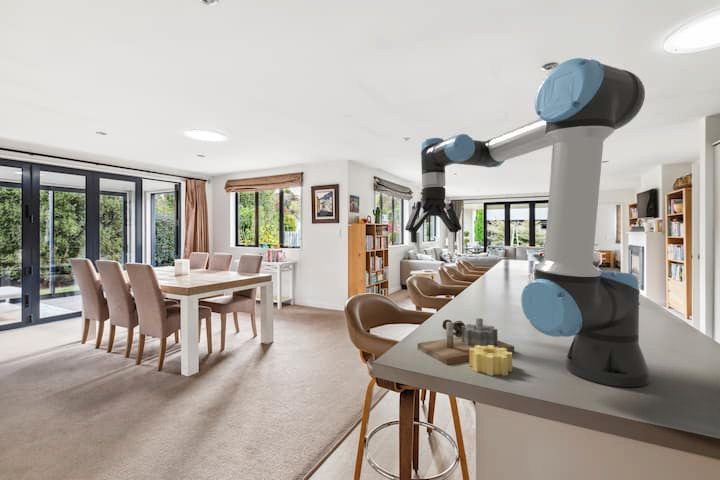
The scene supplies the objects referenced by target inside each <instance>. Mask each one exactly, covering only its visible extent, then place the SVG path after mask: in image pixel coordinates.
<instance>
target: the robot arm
mask: <svg viewBox="0 0 720 480" xmlns="http://www.w3.org/2000/svg"><path fill="white" fill-rule="evenodd" d="M645 91H646V90H645V86H644V83H643V81H642V80H641V79H640V78H639V76H637V74H635V73H633V72H631V71H629V70H625V69H621V68H617V67H615V66H612V65H611V66H610V65H608V64H604V63H601V62H599V60H596V59H592V58H591V59H586V58H584V57H583V58H581V57H577V58H576V57H575V58H570V59H567V60H566V61H563V62H561V63H559V64H558V65H556V66H555V67H554V68H553V69H552V70H550V72H548V74H547V76H546V77H545V78H544V79H542V81H541V83H540V85H539V86H538V89H537V91H536V93H535V97H534V110H535V114H537V115H538V116H539V118H537V119H536V120H534V121H533V120H532V121H530V122H528V123H527V124H523V125H521V126H519V127H517V128H514V129H512V130H510V131H506V132H504V133H503V134H500V135H498V136H495V137H493V138H491V139H490V138H489V139H487V140H485V141H484V140H476V139H475V140H474V139H473V138H472V137H471V136H469V134H466V133H460V134H457V135H453V136H451V137H449V138H448V139H443V138H441V137H431V138H426V139H424V140H423V141H422V143H421V152H420V155H421V156H420V159H421V160H420V161H421V186H422V189H421V199H422V201H420V200H418V201H414V203H413V209H412V211H411V213H410V216H409V218H408V220H407V223H406V226H405V231H408V232H409V233H410V243H412V246H413V247H412V250H413V252H412V253H414V254H420V253H421V247H420V245H421V244H420V243H421V242H420V237H421V235H420V232H418V231H419V229H420V228H421V226H422V225H423V224H424V223H425V221H426V220H427V218H428V217H438V218H439V219H441V221H442V222H443V224H444V226H445V227H446V228H447V230H448V231H449V232H447V252H449V253H455V252H456V242H457V233H458V232H459V231H461V230H462V226H461V224H460V220H459V219H458V216H457V214H456V212H455V211H456V210H455V209H454V203H453V202H445V199H446V188H445V187H446V167H447V166H450V165H455V164H456V165H457V164H458V165H467V166H476V167H484V168H498V167H500V166H501V165H502V164H504V162H505V161H507V160H511V159H514V158H517V157H520V156H523V155H526V154H530V153H533V152H535V151H539V150H541V149H544V148H545V149H546V148H548V147H551V146H552V149H551V150H552V151H551V163H550V177H549V191H548V203H547V204H548V205H547V219H546V230H545V231H546V232H545V242H544V243H545V245H544V258H543V260H542V261H541V262H539V263H538V264H537V265H536V266H535V269H534V270H535V271H534V278H533V279H534V280H531V281H529V282H528V283H527V285H525V286H524V287H523V289H522V291H521V292H522V293H521V296H520V302H521V303H520V304H521V308H522V311H523V314H524V316H525V318H526V319H527V320H529V323H530V324H531V326H532V327H533V328H534V329H536V330H537V331H538V332H539V333H541V334H544V335H545V336H549V337H554V338H555V337H556V338H560V337H573V336H574V337H573V340H572V342H571V345H570V347H569V350H568V352H567V355H566V360H565V362H566V364H565V365H566V369H567V370H568V371H569V372H570V373H571V374H573V375H575V376H577V377H580V378H581V379H585V380H587V381H590V382H594V383H596V384H597V383H598V384H602V385H607V386H612V387H623V388H639V387H644V386H647V385H649V384H650V370H649V367H648V364H647V362H646V359H645V357H644V353H643V352H642V349H641V346H640V341H639V339H640V338H639V335H640V334H639V333H640V332H639V328H640V327H639V326H640V325H639V324H640V323H639V321H640V319H639V318H640V317H639V316H640V315H639V314H640V307H639V305H640V292H641V291H640V287H639V281H638V277H637V276H636V275H634V274H632V273H628V272H621V271H609V270H600V269H598V268H597V267H596V266H595V265H594V264H593V263H594V252H595V251H594V250H595V240H596V231H597V218H598V206H599V198H600V197H599V196H600V185H601V175H602V174H601V173H602V163H603V162H602V160H603V151H604V150H603V149H604V142H605V140H606V139H608V137H610V136H611V135H612V134H614V132H615V131H616V130H618V129H621V128H622V127H624V126H626V125H627V124H629V123H630V122H631V121H633V120H634V119H635V118H636V116H637V115H638V114H639V112H640V111H641V110H642V107H643V105H644V102H645V98H646V92H645ZM421 209H423V211H422V212H421ZM420 212H421V213H420ZM419 214H420V216H419Z"/></svg>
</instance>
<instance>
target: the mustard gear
mask: <svg viewBox="0 0 720 480" xmlns="http://www.w3.org/2000/svg"><path fill="white" fill-rule="evenodd" d="M469 354H470V360H469V367H472V371H474V372H475V373H482V374H486V376H492V377H493V376H494V375H496V376H497V375H502V376H503V377H504V376H509V372H512V373H513V352H507V349H506V348H498V347H494V345H488V346H480V345H476V346H474V348H470V350H469Z"/></svg>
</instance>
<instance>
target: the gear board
mask: <svg viewBox="0 0 720 480" xmlns="http://www.w3.org/2000/svg"><path fill="white" fill-rule="evenodd" d="M452 322H453V321H452ZM452 322H447V323H446V330H445V332H446V338H444V339H438V340H437V339H436V340H430V341H425V342H424V341H423V342H418V343H417V349H418V350H420V351H421V352H423V353H424V354H426V355H428V356H430V357H432V358H433V359H436V360H437V361H439V362H441V363H443V364H444V365H452V364H456V363H462V362H463V363H464V362H467V361H469V362H470V354H469V350H470V348H474V346H476V345H480V346H488V345H494V347H498V348H506V349H507V352H512V353H515V345H512V344H509V343H506V342H504V341H501V340H498V337H499V336H498V328H495V326H493V325H484V320H483V318H479V317H477V318H475V324H471V323H467V324H465V326H462V333H461V336H459V337H458V336H457V337H456V336H455V337H454V329H453V323H454V322H453V323H452Z"/></svg>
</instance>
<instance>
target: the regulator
mask: <svg viewBox="0 0 720 480" xmlns="http://www.w3.org/2000/svg"><path fill="white" fill-rule="evenodd" d="M447 322H452V323H453V332H454V334H455V338H456V337H461V336H462V326H466V324H465V323H464V322H463V321H462V320H456V321H454V322H453V321H452V320H450V319H444V320H443V321H442V325H441V327H442V329H444V330H445V331H446V323H447Z"/></svg>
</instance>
